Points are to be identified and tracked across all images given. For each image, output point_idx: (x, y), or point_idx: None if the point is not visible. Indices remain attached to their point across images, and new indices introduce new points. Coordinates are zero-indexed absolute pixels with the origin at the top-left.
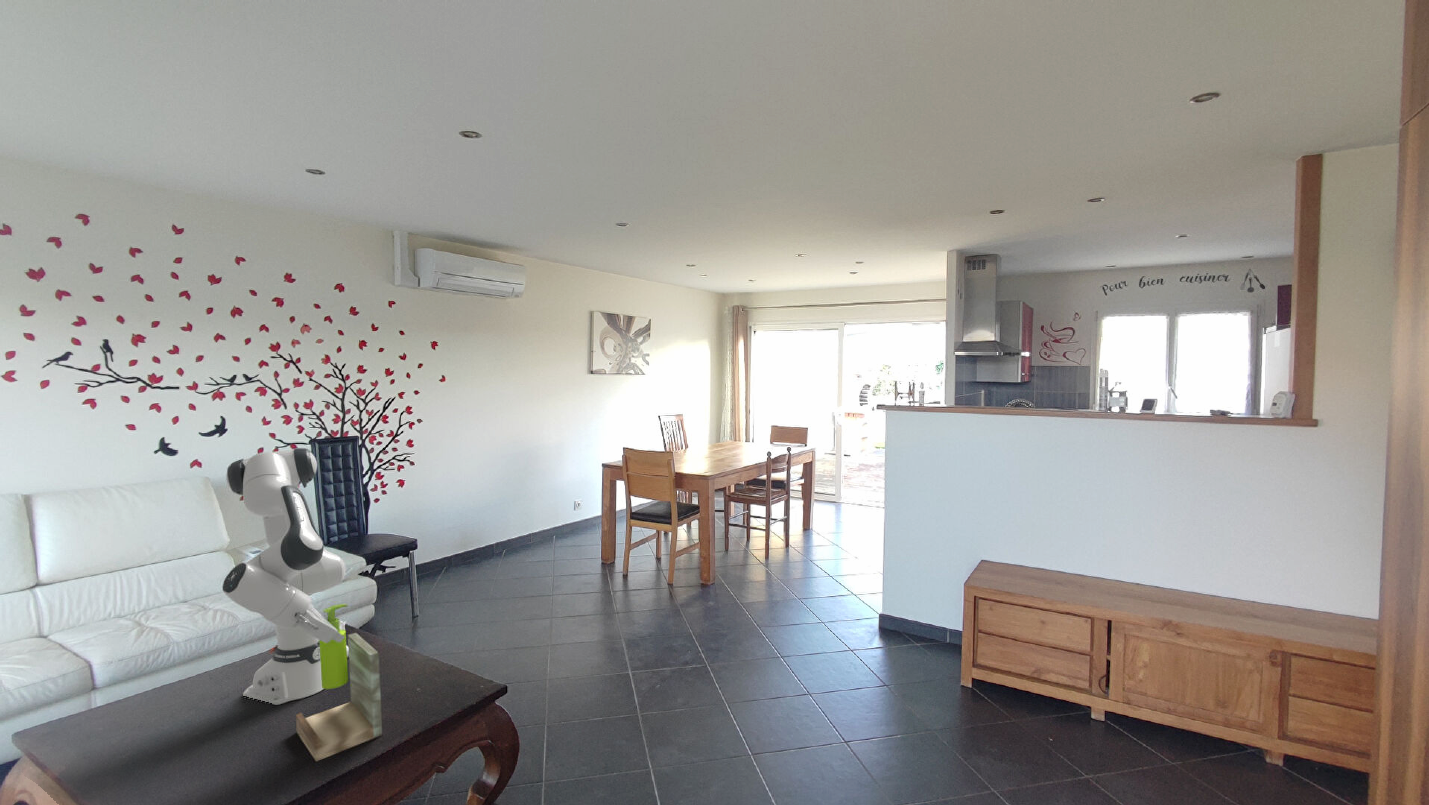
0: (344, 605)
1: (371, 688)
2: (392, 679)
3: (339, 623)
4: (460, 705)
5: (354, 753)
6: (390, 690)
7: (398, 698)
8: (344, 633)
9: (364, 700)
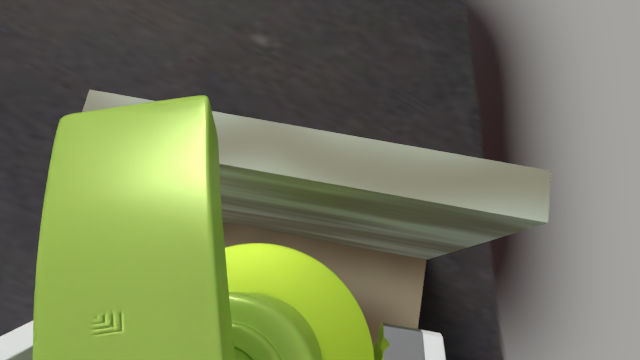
0: (209, 162)
1: (467, 246)
2: (128, 49)
3: (276, 303)
4: (460, 30)
5: (449, 338)
6: (189, 88)
7: (259, 101)
8: (343, 283)
9: (351, 237)
